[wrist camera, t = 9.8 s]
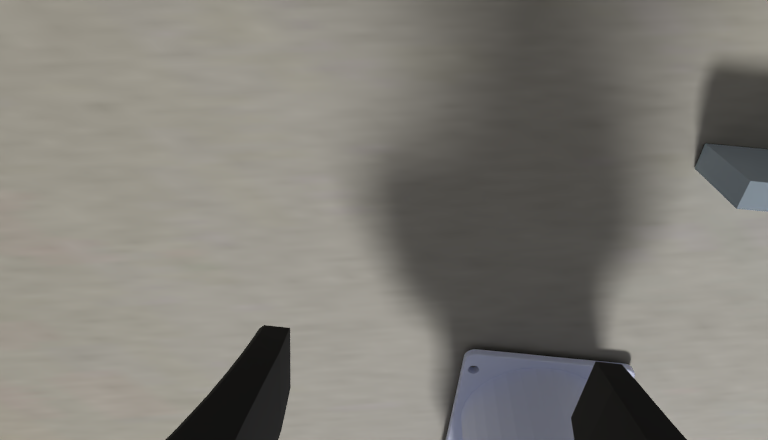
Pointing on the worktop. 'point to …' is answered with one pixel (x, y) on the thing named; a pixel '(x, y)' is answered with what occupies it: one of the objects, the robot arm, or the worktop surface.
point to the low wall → (737, 174)
